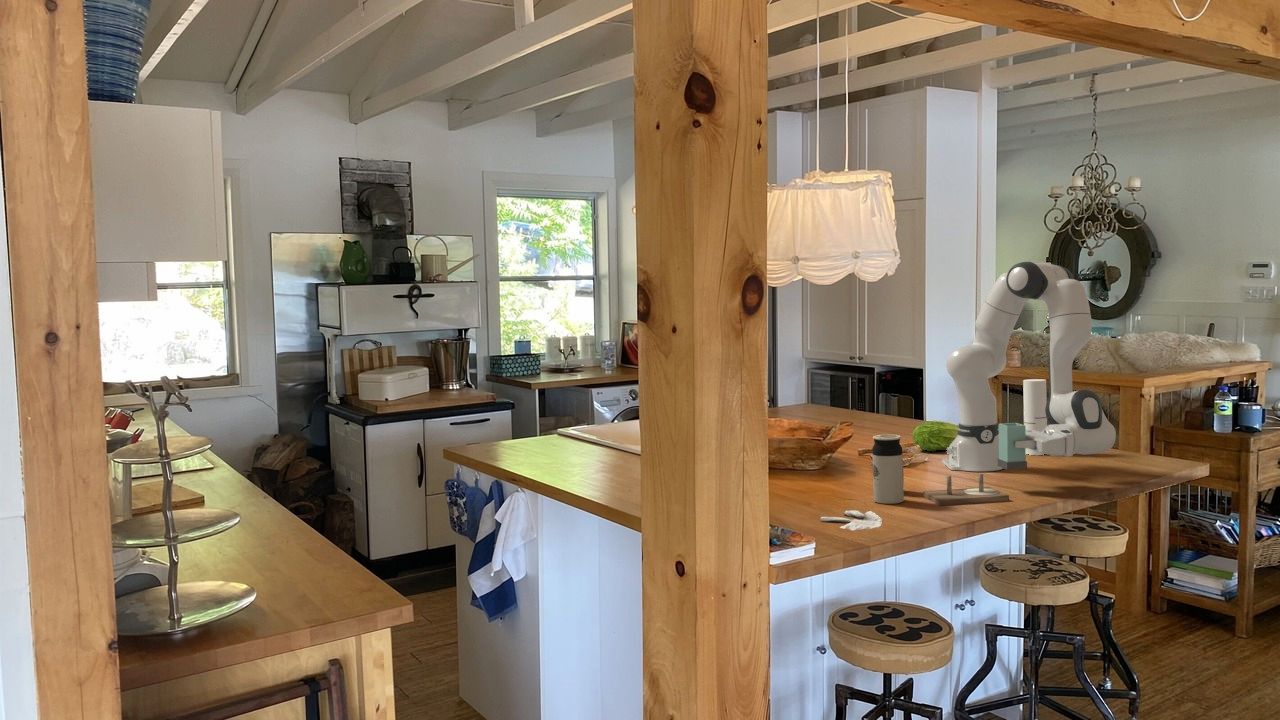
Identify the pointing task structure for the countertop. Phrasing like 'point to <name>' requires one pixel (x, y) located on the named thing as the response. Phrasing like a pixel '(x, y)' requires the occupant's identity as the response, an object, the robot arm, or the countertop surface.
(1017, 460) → the teal sleeve
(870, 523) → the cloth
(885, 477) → the travel mug
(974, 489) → the pin board
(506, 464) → the countertop surface
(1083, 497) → the countertop surface
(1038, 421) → the cylindrical container
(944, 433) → the lettuce
